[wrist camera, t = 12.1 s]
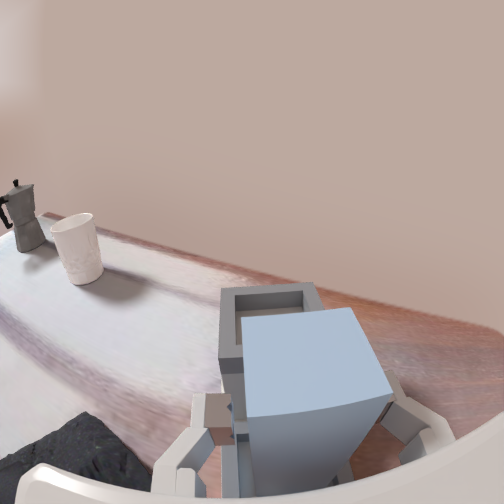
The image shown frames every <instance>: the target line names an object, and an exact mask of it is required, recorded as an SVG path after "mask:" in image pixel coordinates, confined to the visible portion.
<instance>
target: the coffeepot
mask: <svg viewBox="0 0 504 504" xmlns="http://www.w3.org/2000/svg"><path fill="white" fill-rule="evenodd" d="M13 183H14V186H15V188H13V189H12V190H11V191H9V192H8V193H7V194H6V195H4V196H2V197H0V218H1V219H2V221H3V223H4V224H5V226H6V228H7V229H9V228H11V227H12V226H13V223H11V224H9V223H8V220H7V217H6V216H5V215H4V212H3V209H2V208H1V206H2V204H4V203H5V205H6V207H7V210H8V212H9V215H10V218H11V220H13V222H14V232H15V238H16V244H17V250H18V251H19V252H27V251H30V250H33V249H35V248H37V247H38V246H40V245H41V244H42V243H43V242H44V241H45V238H46V237H45V235H44V233H43V231H42V229H41V227H40V224H39V222H38V220H37V218H36V217H35V214H34V211H35V204H34V192H33V186H34V185H33V184H31V185H24V186H18V180H17V179H16V180H14V181H13Z"/></svg>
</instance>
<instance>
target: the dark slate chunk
mask: <svg viewBox="0 0 504 504" xmlns="http://www.w3.org/2000/svg"><path fill="white" fill-rule="evenodd" d="M40 463H45V464H49V465H51V466H54V467H57V468H59V469H62V470H65V471H67V472H70V473H73V474H76V475H79V476H82V477H85V478H89V479H92V480H96V481H99V482H103V483H107V484H111V485H115V486H119V487H124V488H129V489H134V490H139V491H145V492H151V485H152V476H151V475H150V474H149V473H148V472H147V470H146V469H145V468H144V467H143V466H142V465H141V464H140V462H139V461H138V458H137V457H136V456H135V455H134V454H133V453H132V452H131V451H130V450H128V449H127V448H126V447H125V446H124V445H123V444H122V442H121V441H120V439H119V438H118V437H117V436H116V435H115V434H114V433H113V432H112V431H111V430H109V429H107V428H105V427H104V423H103V422H102V421H101V420H99V419H97V418H96V417H94V416H91V415H90V414H88V413H87V412H83V413H81V414H80V415H78V416H77V417H75V418H74V419H72V420H70V421H69V422H67V423H66V424H65V425H64V426H62V427H61V428H60V429H59V430H57V431H53V432H51V433H50V434H48V435H46V436H44V437H43V438H42V439H40V440H38V441H36V442H34V443H32V444H29V445H27V446H25V447H23V448H21V449H20V450H18V451H17V452H15V453H14V454H8V455H7V457H5V458H3V459H1V460H0V504H15V498H16V493H17V488H18V484H19V481H20V478H21V477H22V476H23V475H24V474H25V473H26V472H28V471H29V470H30V469H32V468H33V467H35V466H36V465H38V464H40Z"/></svg>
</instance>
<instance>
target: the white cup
mask: <svg viewBox="0 0 504 504" xmlns="http://www.w3.org/2000/svg"><path fill="white" fill-rule="evenodd" d="M50 231H51V234H52V237H53V240H54V242H55V245H56V248H57V251H58V254H59V256H60V259H61V261H62V264H63V266H64V268H65V269H66V272H67V275H68V277H69V280H70V282H71V283H73V284H74V285H84V284H88V283H90V282H93V281H94V280H96V279H98V278H99V277H100V276H101V275H102V273H103V271H104V269H103V265H102V261H101V254H100V249H99V245H98V239H97V234H96V229H95V224H94V219H93V215H92V214H90V213H82V214H77V215H73V216H70V217H67V218H65V219H62V220H60V221H58V222H57V223H55V224H54V225H53V226H52V227H51V228H50Z"/></svg>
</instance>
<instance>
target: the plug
mask: <svg viewBox="0 0 504 504" xmlns="http://www.w3.org/2000/svg"><path fill="white" fill-rule="evenodd" d="M241 324H242V343H243V361H244V378H245V395H246V411H247V423H248V432H249V441H250V450H251V458H252V467H253V475H254V483H255V491H256V497H266V496H277V495H285V494H293V493H300V492H306V491H312V490H317V489H323V488H325V487H326V486H327V485H328V484H329V483H330V482H331V480H332V479H333V478H334V477H335V476H336V475H337V473H338V472H339V471H340V470H341V469H342V467H343V466H344V465H345V464H346V462H347V461H348V460H349V458H350V457H351V456H352V454H353V453H354V452H355V450H356V449H357V448H358V446H359V445H360V444H361V442H362V441H363V439H364V438H365V437H366V435H367V434H368V432H369V431H370V429H371V428H372V426H373V425H374V423H375V422H376V420H377V419H378V417H379V416H380V414H381V412H382V411H383V409H384V408H385V406H386V404H387V403H388V401H389V399H390V397H391V396H392V394H393V391H392V389H391V386H390V384H389V382H388V380H387V378H386V376H385V374H384V372H383V370H382V368H381V366H380V364H379V362H378V360H377V358H376V356H375V354H374V352H373V350H372V348H371V346H370V344H369V342H368V340H367V338H366V336H365V334H364V332H363V330H362V328H361V326H360V324H359V323H358V321H357V319H356V317H355V315H354V313H353V311H352V309H351V308H350V307H348V308H339V309H331V310H322V311H312V312H302V313H292V314H280V315H267V316H253V317H241Z"/></svg>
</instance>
